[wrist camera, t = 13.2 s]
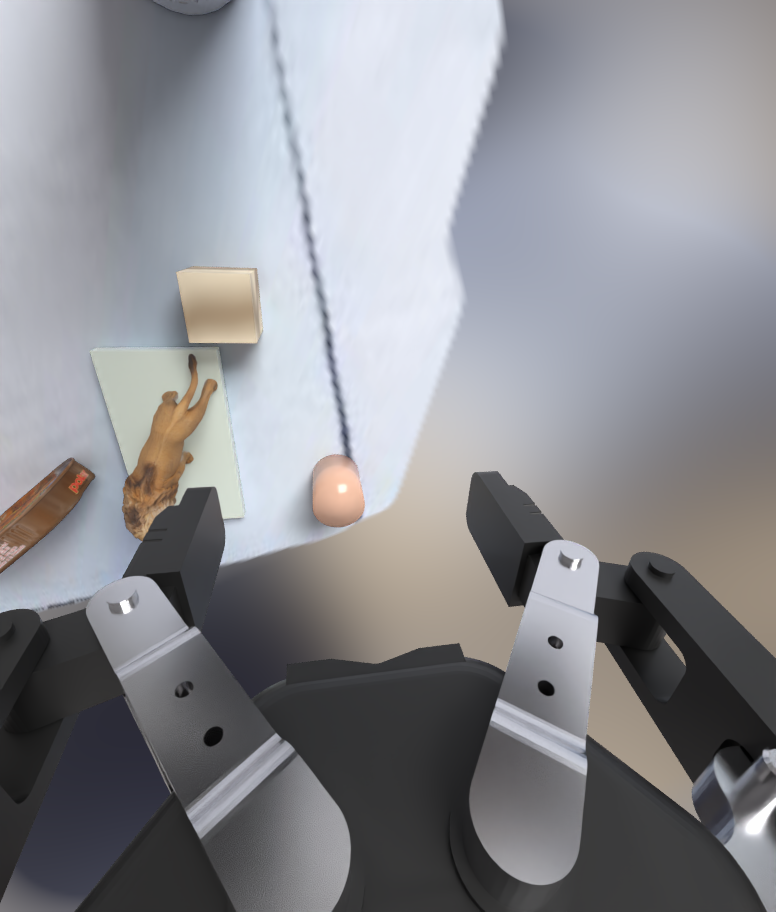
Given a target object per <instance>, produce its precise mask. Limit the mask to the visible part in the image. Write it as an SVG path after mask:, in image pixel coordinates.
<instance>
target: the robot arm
mask: <svg viewBox="0 0 776 912" xmlns="http://www.w3.org/2000/svg"><path fill="white" fill-rule="evenodd" d="M153 1H154V2H155V3H157V4H159V5H161V6H163V7H165V8H167V9H169V10H171V11H174V12H178V13H183V14H187V15H204V14H207V13H210V12H213V11H216V10H218V9H220V8H221V7H222V6H224V5H225V4H227V3H228V2H229V1H231V0H153ZM466 517H467V525H468V528H469V531H470V533H471V535H472V537H473V539H474V540H475V542H476V544H477V546H478V548H479V550H480V552H481V554H482V556H483V558H484V560H485V562H486V564H487V566H488V567H489V569H490V571H491V573H492V575H493V577H494V579H495V581H496V583H497V585H498V587H499V589H500V591H501V592H502V595H503V596H504V598H505V600H506V602H507V604H508V606H509V607H512V606H520V605H524V607H525V610H524V613H523V616H522V620H521V623H520V626H519V630H518V633H517V636H516V639H515V643H514V646H513V649H512V653H511V656H510V660H509V662H508V666H507V669H506V672H504V671H502V670H501V669H499V668H497V667H495V666H493V665H491V664H489V663H486V662H483V661H480V660H476V659H472V658H467V657H464V655H463V652H462V650H461V647H460V644H459V643H458V644H449V645H441V646H433V647H426V648H418V649H416V650H413V651H411V652H408V653H405V654H403V655H400V656H398V657H395V658H393V659H390V660H387V661H385V662H382V663H379V664H371V663H361V662H353V661H345V660H335V659H327V660H319V661H311V662H302V663H294V664H287V676H286V680H283V681H280V682H278V683H276V684H274V685H272V686H270V687H268V688H267V689H265V690H264V691H262V692H260V693H259V694H257V695H256V696H255V697H254V698H252V699H250V697H249V696H248V695H247V694H246V692H245V691H244V689H243V688H242V687H241V685H240V684H239V683H238V681H237V680H236V679H235V677H234V676H233V675H232V674H231V672H230V671H229V670H228V668H227V667H226V665H225V664H224V663H223V661H222V660H221V659H220V657H219V656H218V655H217V653H216V652H215V651H214V649H213V648H212V647H211V646H210V644H209V643H208V641H207V640H206V639H205V637H204V636H203V635H202V633H201V631H202V627H203V624H204V620H205V616H206V613H207V609H208V605H209V602H210V598H211V594H212V591H213V587H214V584H215V580H216V576H217V572H218V569H219V565H220V562H221V558H222V554H223V551H224V546H225V528H224V523H223V518H222V513H221V507H220V502H219V497H218V493H217V489H216V488H215V487H196V488H187V489H186V491H185V493H184V495H183V497H182V499H181V502H180V504H179V505H174V506H168V507H167V508H165V509H164V510H163V511H162V512H161V513H159V514H158V515H157V516H156V517H155V518H154V520H153V522H152V524H151V525H150V527H149V529H148V532H147V533H146V535H145V536H144V538H143V543H141V544H140V546H139V548H138V549H137V551H136V553H135V555H134V557H133V559H132V560H131V562H130V564H129V566H128V568H127V570H126V572H125V573H124V575H123V577H122V579H119V580H117V581H114V582H112V583H110V584H108V585H107V586H105V587H103V588H102V589H101V590H99V591H98V592H97V593H96V594H95V595H94V596H93V597H92V598H91V600H90V601H89V603H88V605H87V608H85V609H83V610H80V611H77V612H74V613H71V614H67V615H64V616H61V617H58V618H55V619H51V620H48V621H45V622H42V620H41V618H40V617H39V615H38V614H37V613H36V612H35V611H33V610H29V609H16V610H10V611H6V612H3V613H0V902H1V900H2V897H3V895H4V892H5V890H6V888H7V885H8V883H9V880H10V878H11V876H12V873H13V871H14V868H15V866H16V863H17V861H18V859H19V856H20V854H21V852H22V849H23V847H24V844H25V842H26V840H27V837H28V835H29V832H30V830H31V828H32V825H33V823H34V820H35V818H36V816H37V813H38V811H39V808H40V806H41V804H42V801H43V799H44V796H45V794H46V792H47V789H48V787H49V784H50V782H51V780H52V777H53V775H54V772H55V770H56V768H57V765H58V763H59V760H60V758H61V756H62V753H63V751H64V748H65V746H66V744H67V741H68V738H69V736H70V734H71V732H72V729H73V727H74V724H75V722H76V720H77V717H78V715H79V713H80V711H83V710H85V709H88V708H90V707H93V706H95V705H98V704H100V703H103V702H105V701H108V700H110V699H113V698H115V697H118V696H120V695H123V696H124V698H125V700H126V702H127V704H128V706H129V708H130V711H131V713H132V715H133V717H134V719H135V720H136V723H137V725H138V727H139V729H140V731H141V733H142V735H143V737H144V739H145V741H146V743H147V745H148V747H149V749H150V751H151V753H152V755H153V757H154V759H155V762H156V763H157V766H158V768H159V770H160V772H161V774H162V776H163V778H164V781H165V783H166V785H167V787H168V789H169V791H170V793H171V794H170V796H169V797H168V798H167V799H166V800H165V801H164V803H163V804H162V805H161V806H160V808H159V809H158V810H157V811H156V813H155V814H154V815H153V816H152V817H151V819H150V820H149V821H148V822H147V823H146V825H145V826H144V827H143V828H142V830H141V831H140V832H139V833H138V835H137V836H136V837H135V838H134V839H133V841H132V842H131V843H130V844H129V846H128V847H127V848H126V849H125V850H124V852H123V853H122V854H121V855H120V857H119V858H118V859H117V860H116V861H115V863H114V864H113V865H112V866H111V867H110V869H109V870H108V871H107V872H106V874H105V875H104V876H103V877H102V879H101V880H100V881H99V882H98V883H97V885H96V886H95V887H94V888H93V890H92V891H91V892H90V893H89V894H88V896H87V897H86V898H85V899H84V901H83V902H82V903H81V904H80V905H79V907H78V908H77V909H76V910H75V912H776V658H775V657H773V655H771V653H770V652H769V651H768V650H767V649H765V647H763V646H762V645H761V644H760V643H759V642H758V641H757V640H756V639H755V638H754V637H753V636H752V635H751V634H750V633H749V632H748V631H747V630H746V629H745V628H744V627H743V626H742V625H741V624H740V623H739V622H738V621H737V620H736V619H735V618H734V617H733V616H732V615H731V614H730V613H729V612H728V611H727V610H726V609H725V608H724V607H723V606H722V605H721V604H720V603H719V602H718V601H717V600H716V599H715V598H714V597H713V596H712V595H711V594H710V593H709V592H708V591H707V590H706V589H705V588H704V587H703V586H702V585H701V584H700V583H699V582H698V581H697V580H696V579H695V578H694V577H693V576H692V575H691V574H690V573H689V572H688V571H687V570H686V569H685V568H684V567H683V566H681V565H680V564H678V563H677V562H675V561H673V560H672V559H670V558H668V557H665V556H663V555H660V554H656V553H651V552H639V553H636V554H635V555H633V556H632V558H631V560H630V562H629V565H628V566H625V565H618V564H612V563H605V562H599V561H598V559H597V557H596V556H595V555H594V554H593V553H592V552H591V551H590V550H589V549H587V548H586V547H584V546H582V545H580V544H578V543H575V542H572V541H567V540H564V539H563V538H562V537H561V536H560V535H559V533H558V532H557V531H556V529H554V527H553V526H552V524H551V523H550V522H549V521H548V519H547V518H546V517H545V516H544V515H543V514H541V511H540V510H539V508H538V507H537V506H535V503H534V502H533V501H532V500H531V498H530V497H529V496H528V495H527V494H526V493H525V492H523V491H522V490H520V489H519V488H517V487H515V486H514V485H508V484H507V483H506V481H505V480H504V479H503V478H502V476H501V475H500V474H499V473H498V472H497V471H492V472H475V473H474V474H473V475H472V478H471V484H470V491H469V498H468V504H467V512H466ZM666 633H667V634H668V636H669V637H670V638H671V639H672V641H673V642H674V643H675V644H676V646H677V647H678V648H679V649H680V651H681V652H682V654H683V656H684V659H685V663H686V666H685V665H684V664H683V662H682V661H681V660H680V659H679V657H678V656H677V655H676V654H675V652H674V651H673V650H672V648H671V647H670V646H669V645H668V643H667V642H666V641H665V639H664V636H665V635H666ZM596 642H602V643H605V645H606V646H607V648H608V650H609V651H610V653H611V654H612V656H613V657H614V659H615V661H616V662H617V664H618V665H619V667H620V669H621V670H622V672H623V673H624V675H625V676H626V678H627V680H628V681H629V683H630V684H631V686H632V687H633V689H634V691H635V692H636V694H637V695H638V697H639V698H640V700H641V702H642V703H643V705H644V706H645V708H646V709H647V711H648V713H649V714H650V716H651V717H652V719H653V720H654V722H655V724H656V725H657V727H658V728H659V730H660V732H661V733H662V735H663V736H664V738H665V739H666V741H667V743H668V744H669V746H670V747H671V749H672V751H673V752H674V754H675V755H676V757H677V758H678V760H679V761H680V763H681V765H682V766H683V768H684V770H685V771H686V773H687V774H688V776H689V777H690V779H691V781H692V782H693V787H692V800H693V805H694V807H695V810H696V813H697V814H698V817H699V819H700V821H701V822H700V821H698V820H697V819H696V818H694V816H692V815H691V814H690V813H688V812H687V811H686V810H685V809H683V808H682V807H681V806H679V805H678V804H677V803H676V802H674V801H673V800H672V799H670V798H669V797H668V796H666V795H665V794H664V793H663V792H661V791H660V790H659V789H657V788H656V787H655V786H653V785H652V784H651V783H650V782H648V781H647V780H646V779H644V778H643V777H642V776H640V775H639V774H638V773H637V772H635V771H634V770H633V769H631V768H630V767H629V766H628V765H626V764H625V763H624V762H622V761H621V760H620V759H618V758H617V757H616V756H614V755H613V754H612V753H611V752H609V751H608V750H606V749H605V748H604V747H603V746H602V745H600V744H599V743H597V742H596V741H595V740H594V739H592V738H591V737H590V736H589V735H587V724H588V715H589V705H590V696H591V686H592V676H593V667H594V657H595V647H596Z"/></svg>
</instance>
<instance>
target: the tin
mask: <svg viewBox="0 0 776 912" xmlns="http://www.w3.org/2000/svg"><path fill="white" fill-rule="evenodd" d="M94 478H95V475H94V474H93V473H92V472H91V471H90V470H88V469H87V468H85V467H84V466H82V465H81V464H79V463H78V462H76V461H75V460H74V458H69V459H67V460H66V461H65V462H63V463H62V464H61V465H60V466H58V467H57V468H56V469H55V470H53V471H52V472H51V473H50V474H49V475H48V476H46V477H45V478H44V479H43V480H42V481H41V482H39V483H38V484H37V485H36V486H35V487H34V488H32V489H31V490H30V491H29V492H28V493H27V494H25V495H24V496H23V497H22V498H21V499H19V500H18V501H17V502H16V503H15V504H14V505H12V506H11V507H10V508H9V509H8V510H7V511H5V512H4V513H3V514H2V515H1V516H0V573H1V572H3V571H4V570H5V569H6V568H8V567H9V566H10V565H11V564H13V563H14V562H15V561H16V560H17V559H19V558H20V557H21V556H22V555H24V554H25V553H26V552H27V551H28V550H29V549H31V548H32V547H33V546H34V545H35V544H37V543H38V542H39V541H40V540H41V539H43V538H44V537H45V536H46V535H47V534H48V533H49V532H50V531H52V530H53V529H54V528H55V527H56V526H57V525H58V524H59V523H60V522H61V521H62V520H63V519H64V518H65V517H66V515H67V514H68V513H69V512H70V511H71V510H72V509H73V508H74V507H75V505H76V504H77V503H78V501H79V500H80V498H81V496H82V494H83V492H84V491H85V489H86V488H87V486H88V485H89V483H90V482H91V481H92V480H93V479H94Z"/></svg>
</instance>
